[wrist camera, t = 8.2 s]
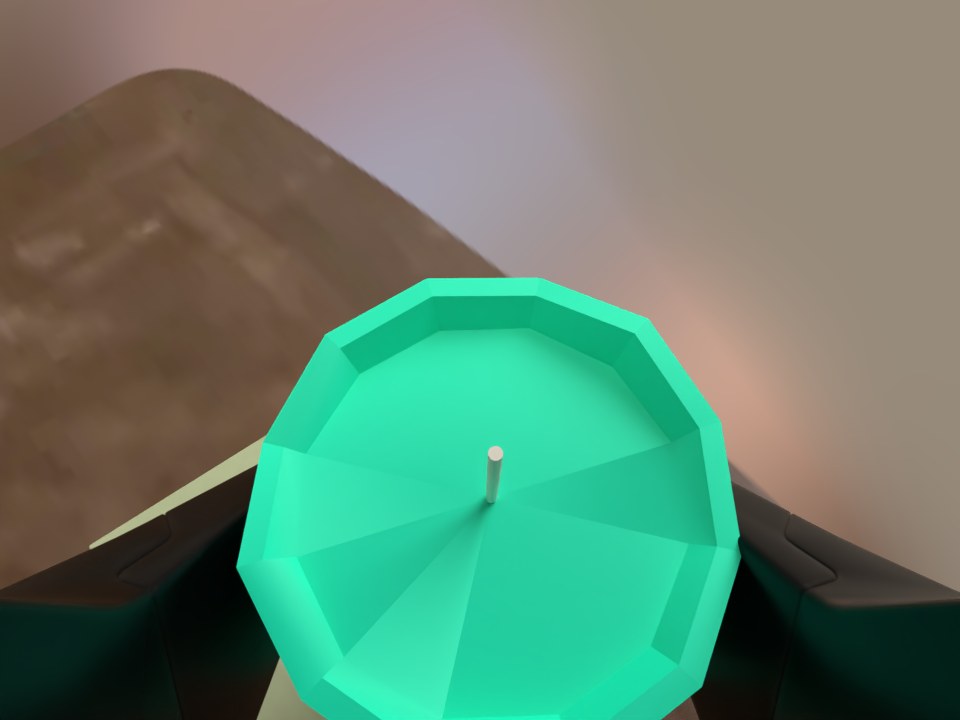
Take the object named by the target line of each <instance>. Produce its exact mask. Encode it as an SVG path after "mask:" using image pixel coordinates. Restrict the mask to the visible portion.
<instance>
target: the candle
mask: <svg viewBox="0 0 960 720" xmlns="http://www.w3.org/2000/svg"><path fill="white" fill-rule="evenodd" d="M739 537H740V534H739V528H738V522H737V516H736V510H735V504H734V498H733V492H732V486H731V480H730V474H729V468H728V462H727V456H726V450H725V444H724V438H723V432H722V426H721V421H720V420H719V418H718V417H717V415H716V414H715V413H714V411H713V410H712V408H711V407H710V406H709V404H708V403H707V401H706V400H705V398H704V397H703V396H702V394H701V393H700V391H699V390H698V389H697V387H696V386H695V384H694V383H693V381H692V380H691V379H690V377H689V376H688V374H687V373H686V372H685V370H684V369H683V367H682V366H681V364H680V363H679V362H678V360H677V359H676V357H675V356H674V355H673V353H672V352H671V350H670V349H669V347H668V346H667V345H666V343H665V342H664V340H663V339H662V338H661V336H660V335H659V333H658V332H657V331H656V329H655V328H654V326H653V325H652V323H651V322H650V320H649V319H647V318H645V317H642V316H639V315H637V314H634V313H632V312H629V311H626V310H624V309H621V308H618V307H616V306H613V305H610V304H608V303H605V302H602V301H600V300H597V299H595V298H592V297H589V296H587V295H584V294H581V293H579V292H576V291H573V290H571V289H568V288H565V287H563V286H560V285H558V284H555V283H552V282H550V281H547V280H544V279H542V278H427V279H425V280H423V281H421V282H420V283H418V284H416V285H414V286H412V287H411V288H409V289H407V290H405V291H403V292H402V293H400V294H398V295H396V296H394V297H392V298H391V299H389V300H387V301H385V302H383V303H382V304H380V305H378V306H376V307H374V308H373V309H371V310H369V311H367V312H365V313H363V314H362V315H360V316H358V317H356V318H354V319H353V320H351V321H349V322H347V323H345V324H344V325H342V326H340V327H338V328H336V329H335V330H333V331H331V332H329V333H327V334H325V336H324V338H323V339H322V341H321V343H320V345H319V346H318V348H317V350H316V351H315V353H314V355H313V357H312V358H311V360H310V362H309V363H308V365H307V367H306V369H305V370H304V372H303V374H302V375H301V377H300V379H299V381H298V382H297V384H296V386H295V387H294V389H293V391H292V393H291V394H290V396H289V398H288V400H287V401H286V403H285V405H284V406H283V408H282V410H281V412H280V413H279V415H278V417H277V418H276V420H275V422H274V424H273V425H272V427H271V429H270V430H269V432H268V434H267V436H266V437H265V439H264V441H263V443H262V448H261V452H260V457H259V462H258V467H257V471H256V476H255V481H254V486H253V491H252V495H251V500H250V505H249V510H248V514H247V519H246V524H245V529H244V533H243V538H242V543H241V548H240V553H239V557H238V562H237V567H236V568H237V570H238V572H239V574H240V576H241V578H242V580H243V582H244V584H245V586H246V588H247V591H248V593H249V595H250V597H251V599H252V601H253V603H254V605H255V607H256V609H257V611H258V613H259V615H260V617H261V619H262V621H263V623H264V625H265V627H266V629H267V631H268V633H269V636H270V638H271V640H272V642H273V644H274V646H275V648H276V650H277V652H278V654H279V656H280V658H281V660H282V662H283V664H284V666H285V668H286V670H287V672H288V674H289V676H290V679H291V681H292V683H293V685H294V687H295V689H296V691H297V693H298V695H299V697H300V699H301V701H303V702H304V703H305V704H307V705H308V706H310V707H311V708H312V709H314V710H315V711H316V712H318V713H319V714H320V715H322V716H323V717H325V718H326V719H327V720H661V719H662V718H664V717H665V716H666V715H667V714H669V713H670V712H671V711H672V710H674V709H675V708H676V707H677V706H679V705H680V704H681V703H682V702H684V701H685V700H686V699H687V698H689V697H690V696H691V695H692V694H694V693H695V692H696V691H698V690H699V689H700V688H701V687H702V685H703V682H704V679H705V675H706V672H707V669H708V665H709V662H710V659H711V655H712V652H713V649H714V646H715V642H716V639H717V636H718V632H719V629H720V626H721V622H722V619H723V616H724V612H725V609H726V606H727V602H728V599H729V596H730V593H731V589H732V586H733V583H734V579H735V576H736V573H737V569H738V566H739V563H740V559H741V554H740V550H739V546H738V538H739Z"/></svg>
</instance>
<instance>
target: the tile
mask: <svg viewBox="0 0 960 720" xmlns="http://www.w3.org/2000/svg"><path fill="white" fill-rule="evenodd" d="M266 436H267V435H266ZM266 436H264V437H263V438H261V439H259V440H258V441H256V442H255V443H253V444H251V445H250V446H248V447H247V448H245V449H243V450H242V451H240V452H239V453H237V454H235V455H234V456H232V457H231V458H229V459H227V460H226V461H224V462H223V463H221V464H219V465H218V466H216V467H215V468H213V469H211V470H210V471H208V472H206V473H205V474H203V475H202V476H200V477H198V478H197V479H195V480H194V481H192V482H190V483H189V484H187V485H186V486H184V487H182V488H181V489H179V490H178V491H176V492H174V493H173V494H171V495H170V496H168V497H166V498H165V499H163V500H162V501H160V502H158V503H157V504H155V505H154V506H152V507H150V508H149V509H147V510H146V511H144V512H142V513H141V514H139V515H138V516H136V517H134V518H133V519H131V520H129V521H128V522H126V523H125V524H123V525H121V526H120V527H118V528H117V529H115V530H113V531H112V532H110V533H109V534H107V535H105V536H104V537H102V538H101V539H99V540H97V541H96V542H94V543H93V544H91V545H90V546H89V548H90V549H92V548H94V547H97V546H99V545H101V544H103V543H105V542H107V541H109V540H112V539H114V538H116V537H118V536H120V535H122V534H124V533H126V532H128V531H130V530H132V529H134V528H136V527H138V526H140V525H142V524H144V523H146V522H148V521H150V520H152V519H153V518H155V517H157V516H159V515H161V514H164V515H165V513H166V512H167V511H169V510H171V509H173V508H175V507H177V506H179V505H180V504H182V503H184V502H186V501H188V500H190V499H192V498H194V497H196V496H198V495H200V494H201V493H203V492H205V491H207V490H209V489H211V488H213V487H215V486H217V485H219V484H221V483H222V482H224V481H226V480H228V479H230V478H232V477H234V476H236V475H238V474H240V473H242V472H243V471H245V470H247V469H249V468H251V467H253V466H255V465H257V464H258V462H259V457H260V452H261V448H262V443H263V441H264V439H265V437H266ZM257 720H327V719H326V718H325V717H323V716H322V715H320V714H319V713H318V712H316V711H315V710H314V709H312V708H311V707H310V706H308V705H307V704H305V703H304V702H303V701H301V699H300V697H299V695H298V693H297V691H296V689H295V687H294V685H293V683H292V681H291V679H290V676H289V674H288V672H287V670H286V668H285V666H284V664H283V662H282V660H281V658H280V659H279V661H278V664H277V667H276V669H275V672H274V675H273V677H272V680H271V683H270V685H269V688H268V691H267V693H266V696H265V699H264V701H263V704H262V707H261V710H260V712H259V715H258V718H257Z"/></svg>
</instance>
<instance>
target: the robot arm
mask: <svg viewBox="0 0 960 720" xmlns="http://www.w3.org/2000/svg"><path fill="white" fill-rule="evenodd" d="M257 467H258V464H257V465H255V466H253V467H251V468H249V469H247V470H245V471H243V472H242V473H240V474H238V475H236V476H234V477H232V478H230V479H228V480H226V481H224V482H222V483H221V484H219V485H217V486H215V487H213V488H211V489H209V490H207V491H205V492H203V493H201V494H200V495H198V496H196V497H194V498H192V499H190V500H188V501H186V502H184V503H182V504H180V505H179V506H177V507H175V508H173V509H171V510H169V511H167V512H166V513H165V515H164V514H161V515H159V516H157V517H155V518H153V519H152V520H150V521H148V522H146V523H144V524H142V525H140V526H138V527H136V528H134V529H132V530H130V531H128V532H126V533H124V534H122V535H120V536H118V537H116V538H114V539H112V540H109V541H107V542H105V543H103V544H101V545H99V546H97V547H94V548H92V549H90V550H88V551H86V552H84V553H81V554H79V555H77V556H75V557H73V558H70V559H68V560H66V561H64V562H61V563H59V564H57V565H55V566H52V567H50V568H48V569H46V570H44V571H41V572H39V573H37V574H35V575H32V576H30V577H28V578H26V579H24V580H21V581H19V582H17V583H15V584H12V585H10V586H8V587H6V588H3V589H1V590H0V720H257V718H258V715H259V712H260V710H261V707H262V704H263V701H264V699H265V696H266V693H267V691H268V688H269V685H270V683H271V680H272V677H273V675H274V672H275V669H276V667H277V664H278V661H279V659H280V656H279V654H278V652H277V650H276V648H275V646H274V644H273V642H272V640H271V638H270V636H269V633H268V631H267V629H266V627H265V625H264V623H263V621H262V619H261V617H260V615H259V613H258V611H257V609H256V607H255V605H254V603H253V601H252V599H251V597H250V595H249V593H248V591H247V588H246V586H245V584H244V582H243V580H242V578H241V576H240V574H239V572H238V570H237V568H236V567H237V562H238V557H239V553H240V548H241V543H242V538H243V533H244V529H245V524H246V519H247V514H248V510H249V505H250V500H251V495H252V491H253V486H254V481H255V476H256V471H257ZM731 486H732V492H733V498H734V504H735V510H736V516H737V522H738V528H739V534H740V537H739V538H738V546H739V550H740V554H741V559H740V563H739V566H738V569H737V573H736V576H735V579H734V583H733V586H732V589H731V593H730V596H729V599H728V602H727V606H726V609H725V612H724V616H723V619H722V622H721V626H720V629H719V632H718V636H717V639H716V642H715V646H714V649H713V652H712V655H711V659H710V662H709V665H708V669H707V672H706V675H705V679H704V682H703V685H702V687H701V688H700V689H699V690H698V691H696V692H695V693H694V694H692V695H691V698H692V701H693V704H694V707H695V709H696V712H697V715H698V717H699V720H960V592H958V591H956V590H953V589H951V588H949V587H947V586H944V585H942V584H940V583H938V582H935V581H933V580H931V579H929V578H927V577H924V576H922V575H920V574H918V573H916V572H913V571H911V570H909V569H907V568H905V567H902V566H900V565H898V564H896V563H893V562H891V561H889V560H887V559H885V558H882V557H880V556H878V555H876V554H874V553H871V552H869V551H867V550H865V549H863V548H861V547H859V546H857V545H854V544H852V543H850V542H848V541H846V540H844V539H842V538H839V537H837V536H835V535H833V534H831V533H829V532H827V531H826V530H824V529H822V528H820V527H818V526H816V525H814V524H812V523H810V522H808V521H806V520H804V519H802V518H800V517H798V516H797V515H795V514H790V512H789V511H787V510H785V509H783V508H781V507H779V506H777V505H776V504H774V503H772V502H770V501H768V500H766V499H764V498H762V497H760V496H758V495H757V494H755V493H753V492H751V491H749V490H747V489H745V488H743V487H741V486H739V485H738V484H736V483H734V482H732V481H731Z"/></svg>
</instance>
